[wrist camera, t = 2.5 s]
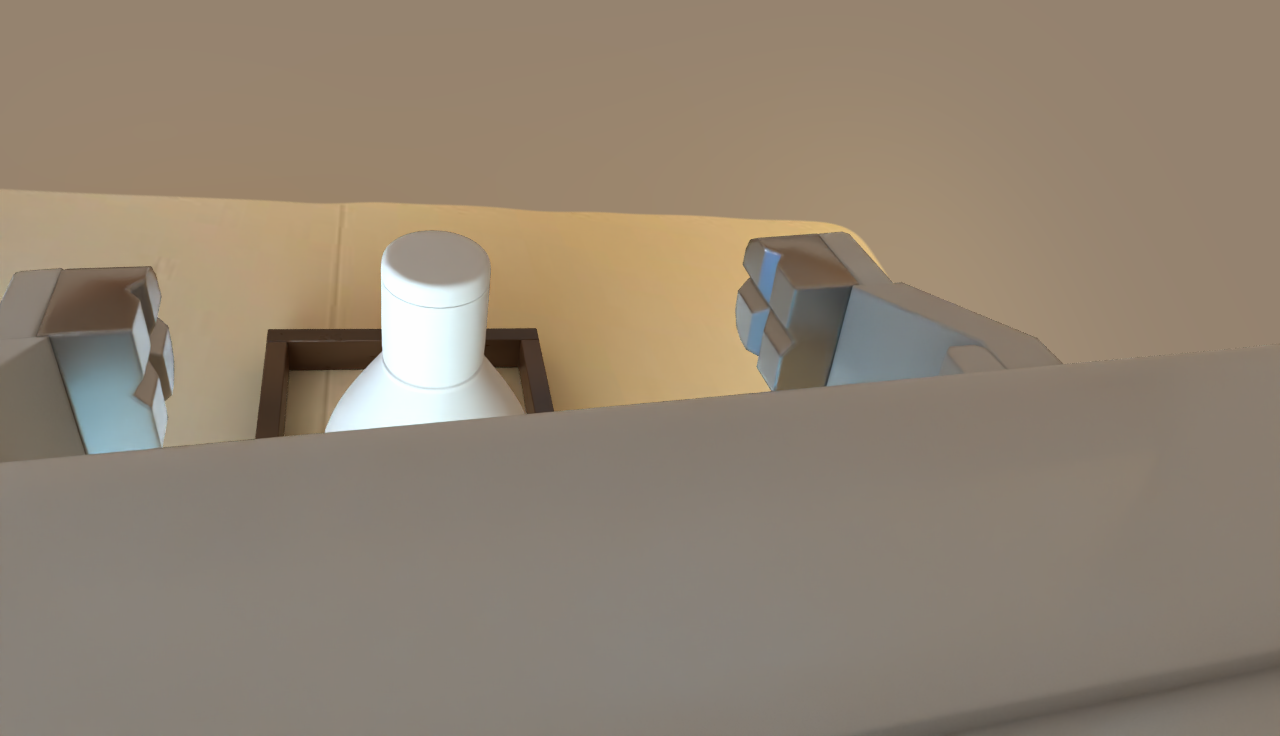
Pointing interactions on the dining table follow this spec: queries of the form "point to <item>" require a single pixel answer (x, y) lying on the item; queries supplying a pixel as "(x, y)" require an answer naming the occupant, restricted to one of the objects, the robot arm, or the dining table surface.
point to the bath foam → (429, 340)
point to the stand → (363, 347)
